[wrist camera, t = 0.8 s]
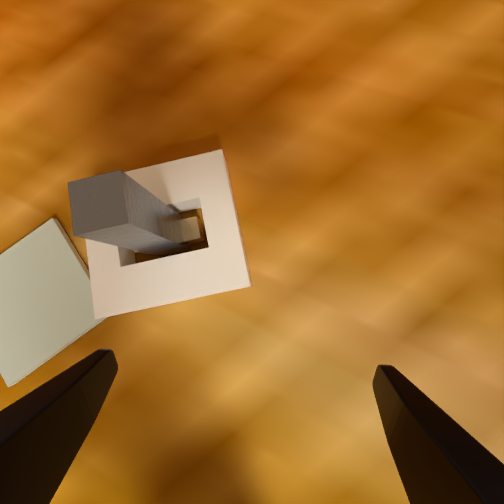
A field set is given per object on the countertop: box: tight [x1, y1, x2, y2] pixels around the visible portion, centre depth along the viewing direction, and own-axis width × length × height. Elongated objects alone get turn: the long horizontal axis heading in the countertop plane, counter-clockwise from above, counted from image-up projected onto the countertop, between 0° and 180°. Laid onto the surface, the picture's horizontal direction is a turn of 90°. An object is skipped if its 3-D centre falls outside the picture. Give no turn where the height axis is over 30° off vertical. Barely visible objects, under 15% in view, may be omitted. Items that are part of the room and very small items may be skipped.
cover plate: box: [86, 149, 252, 319], centre depth 21 cm, size 12×13×2 cm
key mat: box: [0, 218, 107, 387], centre depth 22 cm, size 11×11×1 cm
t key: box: [68, 170, 205, 256], centre depth 18 cm, size 3×6×10 cm, turn 102°
